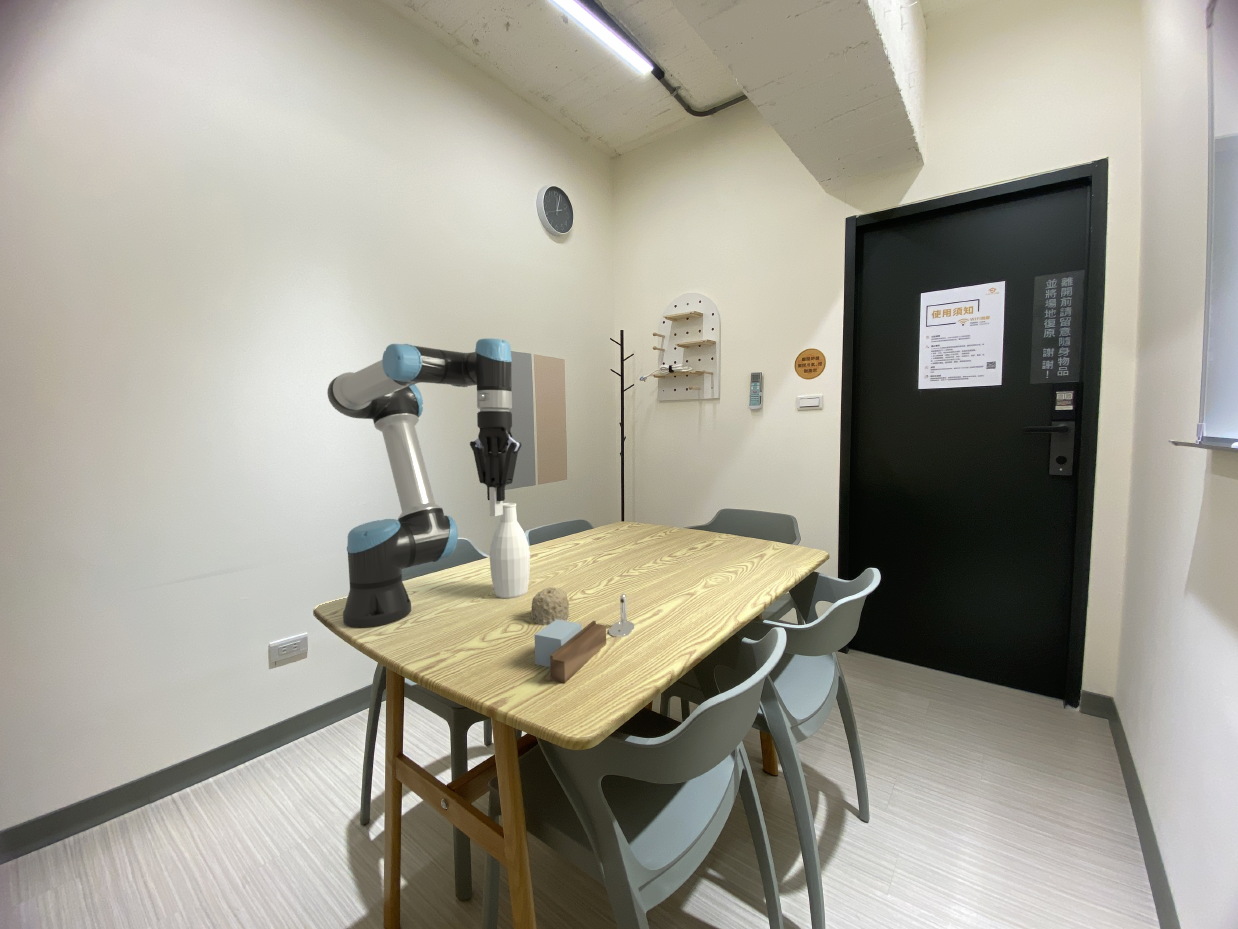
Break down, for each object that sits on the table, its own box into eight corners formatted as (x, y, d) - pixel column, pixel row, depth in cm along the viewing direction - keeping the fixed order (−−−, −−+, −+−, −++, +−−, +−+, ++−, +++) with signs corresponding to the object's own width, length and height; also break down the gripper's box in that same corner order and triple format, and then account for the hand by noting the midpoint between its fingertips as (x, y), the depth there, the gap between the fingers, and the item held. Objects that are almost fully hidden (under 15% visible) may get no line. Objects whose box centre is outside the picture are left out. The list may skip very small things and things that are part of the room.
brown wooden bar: (550, 680, 85) (549, 655, 85) (593, 641, 101) (593, 620, 100) (564, 683, 84) (564, 658, 84) (606, 644, 99) (605, 622, 99)
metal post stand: (605, 636, 104) (616, 622, 111) (627, 638, 102) (636, 624, 110) (604, 601, 103) (616, 590, 111) (626, 604, 102) (636, 592, 109)
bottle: (503, 603, 125) (499, 508, 123) (483, 593, 133) (480, 504, 131) (538, 593, 132) (536, 503, 131) (518, 584, 140) (515, 499, 139)
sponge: (549, 642, 110) (572, 609, 108) (517, 617, 111) (539, 584, 109) (562, 626, 119) (583, 595, 117) (532, 603, 120) (552, 572, 118)
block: (535, 664, 91) (534, 634, 91) (557, 647, 99) (556, 619, 98) (561, 670, 89) (561, 639, 88) (582, 652, 96) (581, 623, 96)
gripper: (460, 410, 104) (462, 515, 106) (507, 409, 99) (509, 520, 101) (483, 411, 111) (485, 510, 113) (528, 410, 105) (529, 514, 107)
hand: (496, 515), depth 107 cm, fingers closed
